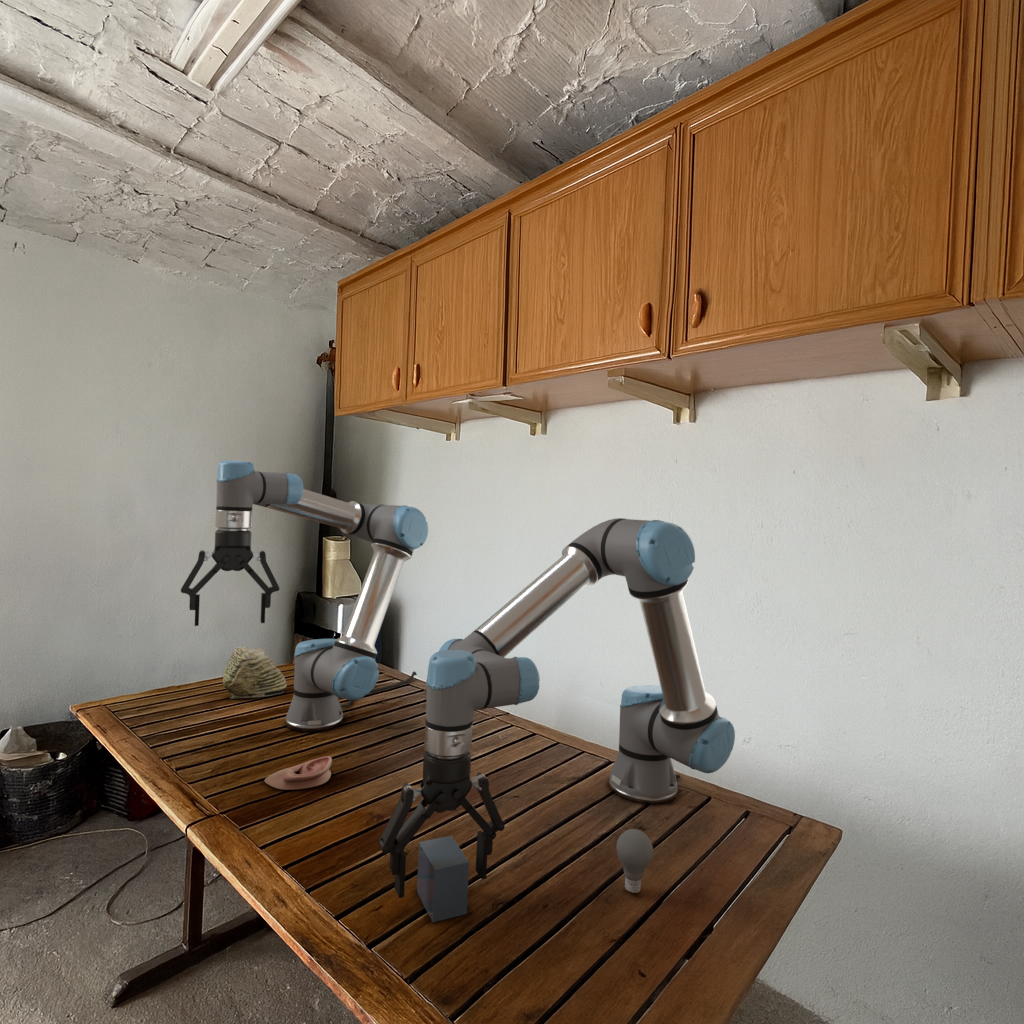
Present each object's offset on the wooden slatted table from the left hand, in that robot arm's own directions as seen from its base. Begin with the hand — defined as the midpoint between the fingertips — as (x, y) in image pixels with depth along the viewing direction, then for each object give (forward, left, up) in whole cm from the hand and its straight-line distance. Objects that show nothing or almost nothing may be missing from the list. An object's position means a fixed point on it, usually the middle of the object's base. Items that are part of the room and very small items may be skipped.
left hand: (230, 623), depth 143 cm
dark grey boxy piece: (0, +69, -34) cm, 77 cm away
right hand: (0, +69, -31) cm, 75 cm away
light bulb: (-24, +90, -34) cm, 99 cm away
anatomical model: (-9, +15, -34) cm, 38 cm away
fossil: (-33, -46, -34) cm, 66 cm away
